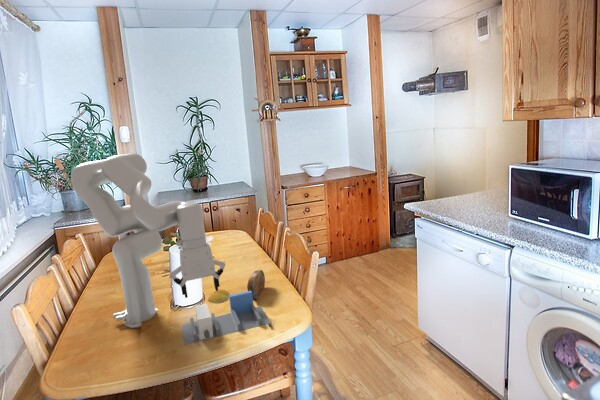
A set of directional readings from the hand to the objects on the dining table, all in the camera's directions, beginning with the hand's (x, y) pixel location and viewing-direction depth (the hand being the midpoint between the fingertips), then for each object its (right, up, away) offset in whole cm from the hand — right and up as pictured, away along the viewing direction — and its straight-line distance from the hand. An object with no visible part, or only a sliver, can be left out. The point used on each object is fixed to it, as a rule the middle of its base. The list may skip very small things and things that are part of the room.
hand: (201, 292), depth 126 cm
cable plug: (+1, -14, +2) cm, 14 cm away
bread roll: (0, -10, +27) cm, 28 cm away
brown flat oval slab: (+15, -8, +31) cm, 35 cm away
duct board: (+7, -14, +7) cm, 17 cm away
